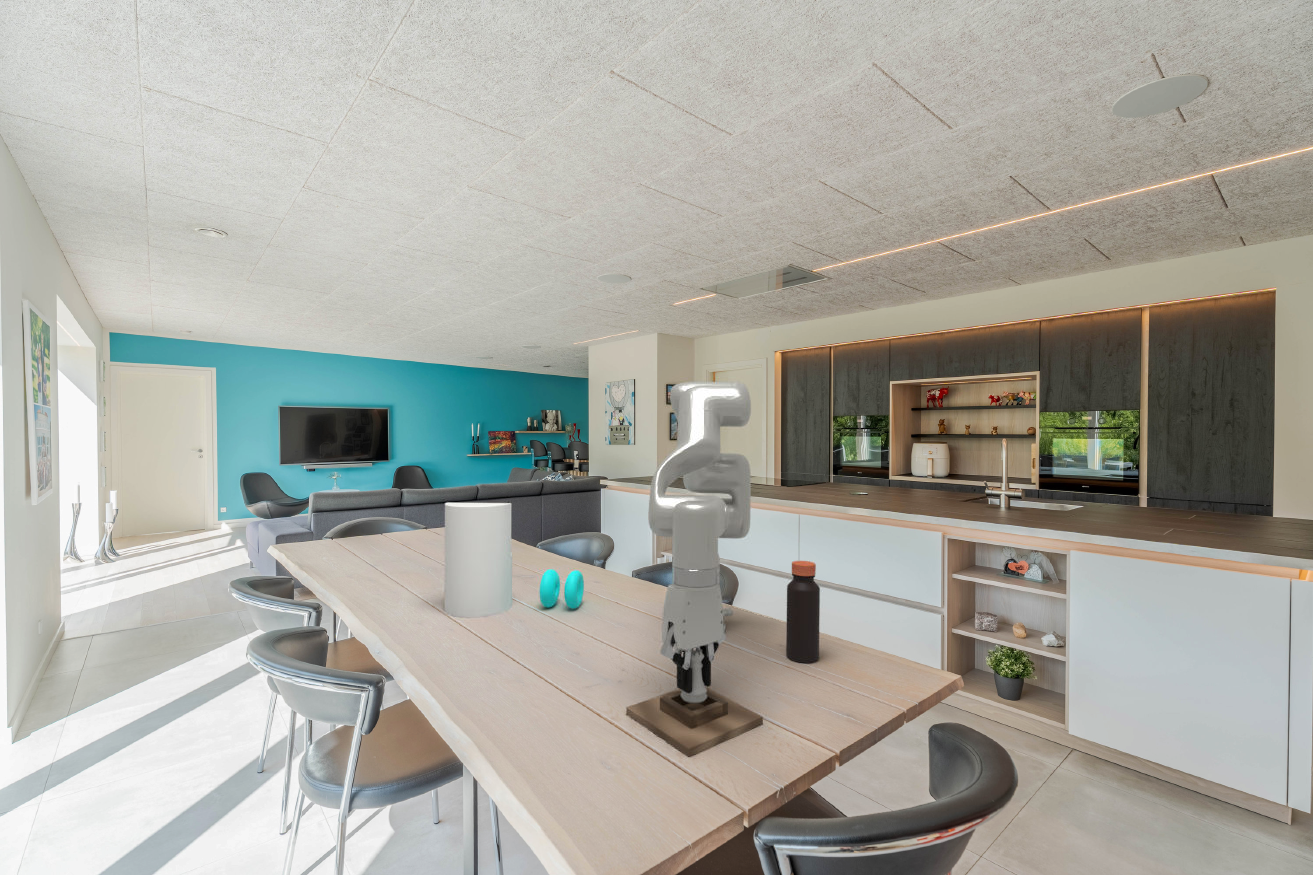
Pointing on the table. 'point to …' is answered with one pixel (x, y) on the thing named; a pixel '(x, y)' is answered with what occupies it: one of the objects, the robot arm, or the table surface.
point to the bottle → (803, 614)
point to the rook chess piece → (696, 679)
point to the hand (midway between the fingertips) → (693, 685)
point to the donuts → (552, 588)
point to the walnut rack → (694, 720)
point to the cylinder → (478, 559)
